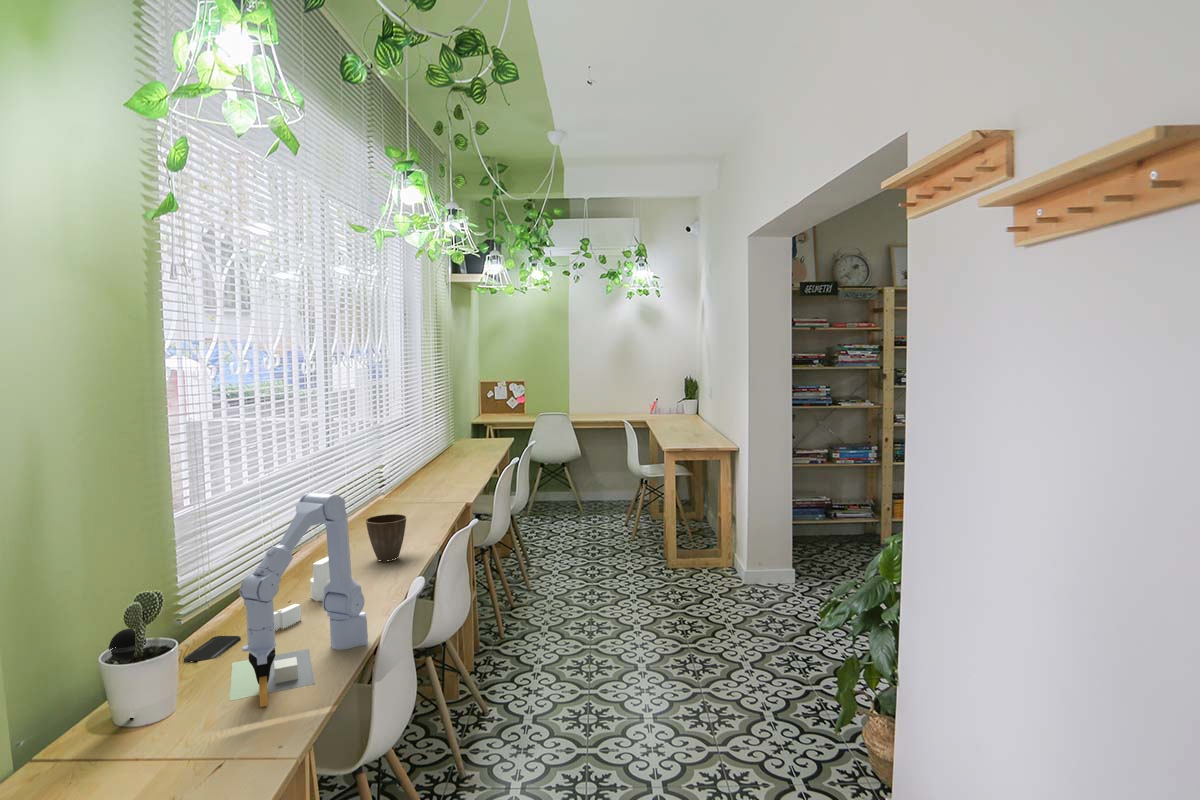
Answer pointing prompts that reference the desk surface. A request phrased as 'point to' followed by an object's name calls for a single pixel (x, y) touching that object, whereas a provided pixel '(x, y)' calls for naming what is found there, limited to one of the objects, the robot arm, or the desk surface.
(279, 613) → the napkin holder
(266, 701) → the bar
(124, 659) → the black bowler hat
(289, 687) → the green and grey board
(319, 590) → the cylinder with rectangular tab
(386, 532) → the plant pot
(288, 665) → the plug block
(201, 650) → the phone
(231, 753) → the desk surface
